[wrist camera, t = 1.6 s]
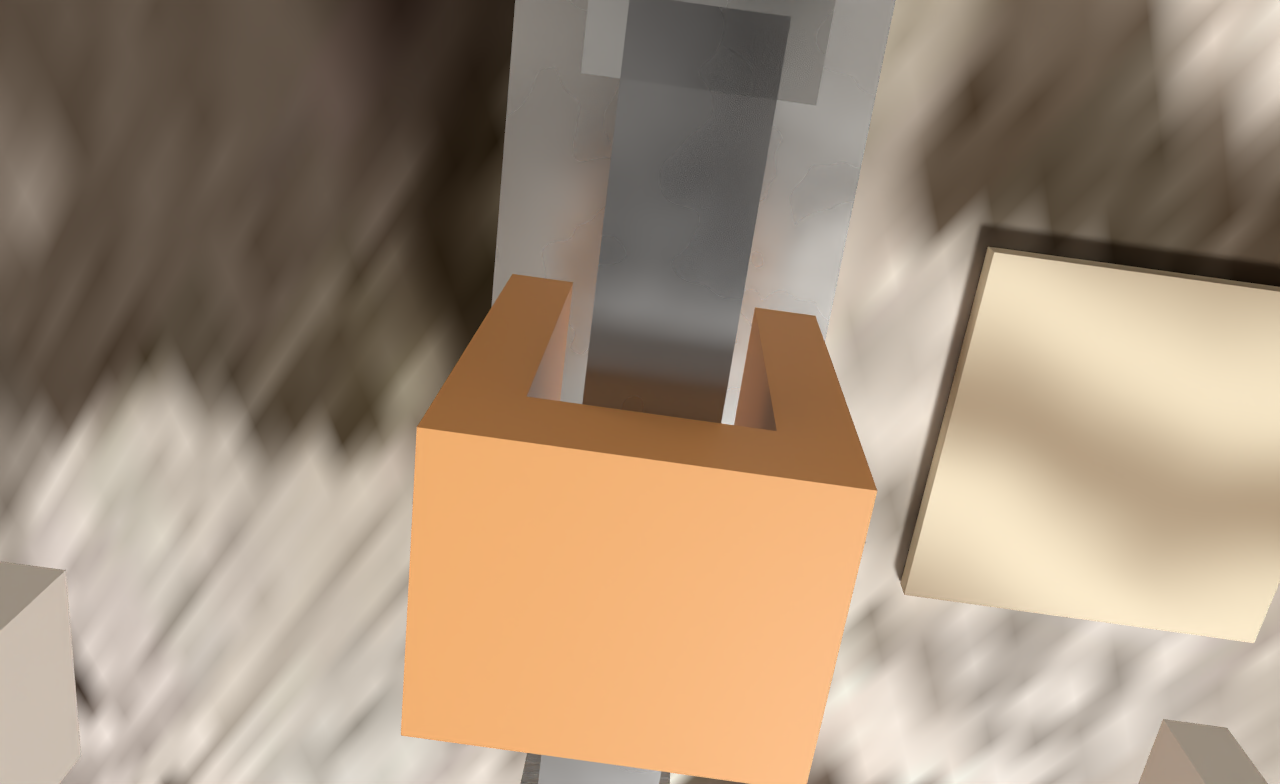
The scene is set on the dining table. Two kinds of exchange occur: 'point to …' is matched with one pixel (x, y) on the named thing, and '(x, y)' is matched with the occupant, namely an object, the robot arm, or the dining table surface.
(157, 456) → the dining table surface
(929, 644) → the dining table surface
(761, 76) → the rail stand
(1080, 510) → the pad
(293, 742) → the dining table surface
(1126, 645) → the dining table surface
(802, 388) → the orange notched sleeve
